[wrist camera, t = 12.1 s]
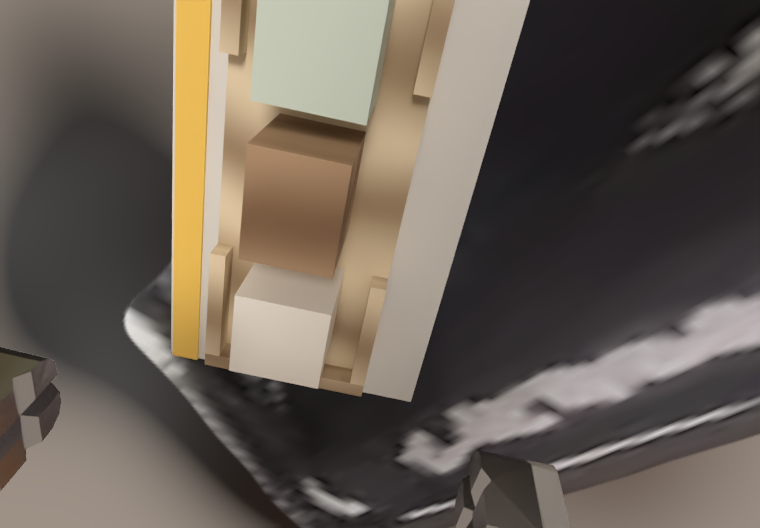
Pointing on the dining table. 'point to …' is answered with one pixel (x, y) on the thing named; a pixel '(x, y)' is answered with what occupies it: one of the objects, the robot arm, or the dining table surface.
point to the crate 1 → (321, 55)
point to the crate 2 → (284, 324)
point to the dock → (425, 197)
